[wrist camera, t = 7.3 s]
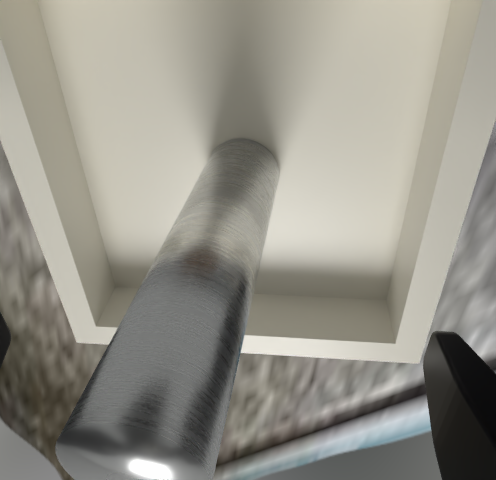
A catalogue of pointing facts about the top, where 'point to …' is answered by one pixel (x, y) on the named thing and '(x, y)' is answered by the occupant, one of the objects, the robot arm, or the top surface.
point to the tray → (265, 132)
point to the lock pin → (180, 334)
